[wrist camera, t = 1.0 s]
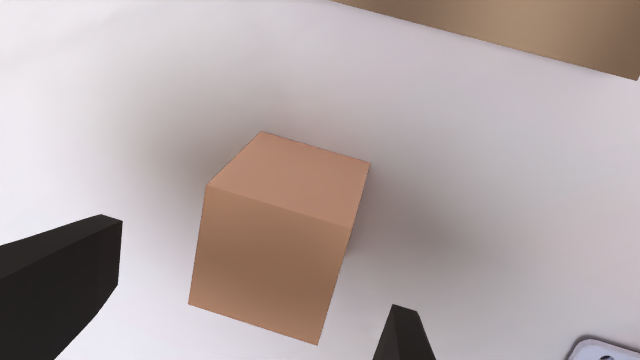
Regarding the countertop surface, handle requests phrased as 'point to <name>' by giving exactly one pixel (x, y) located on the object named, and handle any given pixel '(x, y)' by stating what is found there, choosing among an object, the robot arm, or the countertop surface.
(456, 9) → the walnut board
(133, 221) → the countertop surface
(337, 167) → the terracotta block
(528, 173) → the countertop surface
